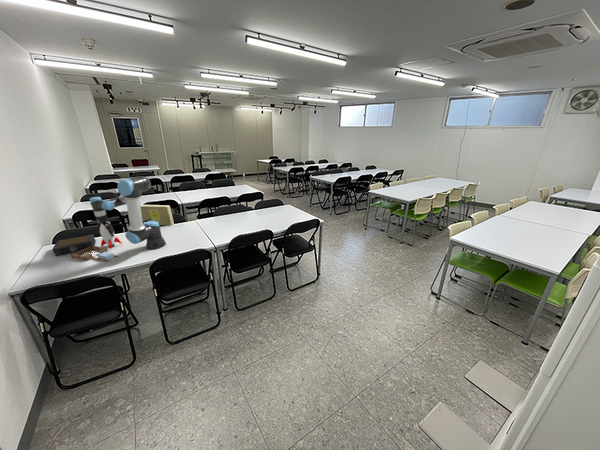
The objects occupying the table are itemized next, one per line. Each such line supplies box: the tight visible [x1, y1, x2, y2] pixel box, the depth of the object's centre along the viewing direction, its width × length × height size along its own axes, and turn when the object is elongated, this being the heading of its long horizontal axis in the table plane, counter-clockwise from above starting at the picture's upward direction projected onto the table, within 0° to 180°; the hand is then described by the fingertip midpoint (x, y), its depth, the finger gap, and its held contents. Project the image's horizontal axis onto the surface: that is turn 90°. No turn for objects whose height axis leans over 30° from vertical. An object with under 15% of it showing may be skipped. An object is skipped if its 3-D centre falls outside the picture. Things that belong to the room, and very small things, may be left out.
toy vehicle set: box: [140, 204, 175, 226], centre depth 257 cm, size 35×5×22 cm, turn 85°
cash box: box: [52, 234, 96, 257], centre depth 206 cm, size 25×20×8 cm
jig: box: [70, 245, 119, 263], centre depth 194 cm, size 34×16×4 cm, turn 73°
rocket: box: [99, 223, 123, 249], centre depth 206 cm, size 11×11×25 cm
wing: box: [97, 251, 115, 261], centre depth 191 cm, size 9×6×4 cm, turn 73°
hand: (109, 239), depth 207 cm, fingers closed on rocket, 9 cm apart
